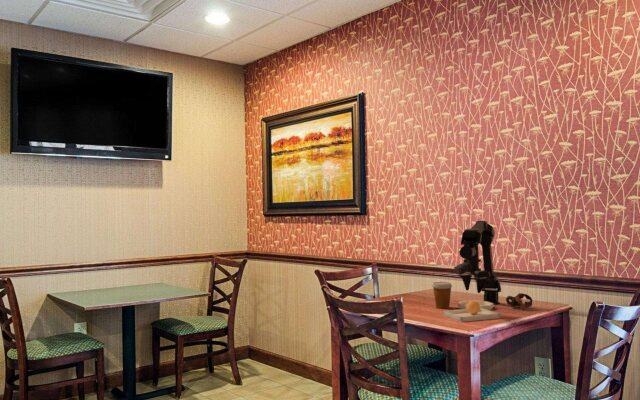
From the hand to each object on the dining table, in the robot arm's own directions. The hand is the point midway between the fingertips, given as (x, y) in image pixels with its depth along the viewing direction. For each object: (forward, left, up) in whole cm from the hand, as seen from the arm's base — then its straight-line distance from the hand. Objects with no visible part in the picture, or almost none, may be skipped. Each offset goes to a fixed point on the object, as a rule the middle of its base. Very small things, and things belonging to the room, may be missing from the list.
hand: (472, 291), depth 246 cm
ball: (0, 0, -7) cm, 7 cm away
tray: (+2, +2, -11) cm, 11 cm away
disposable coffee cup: (+2, -23, -11) cm, 26 cm away
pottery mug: (-29, -6, -11) cm, 32 cm away
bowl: (-12, -16, -11) cm, 23 cm away
